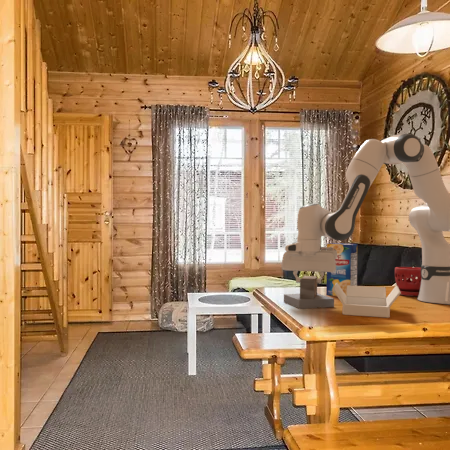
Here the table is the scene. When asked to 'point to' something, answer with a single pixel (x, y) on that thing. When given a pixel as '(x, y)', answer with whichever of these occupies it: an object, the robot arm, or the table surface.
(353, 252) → the blue cardboard box
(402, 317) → the table surface
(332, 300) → the slate platform
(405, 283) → the plant pot
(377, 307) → the carton
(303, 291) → the walnut block
